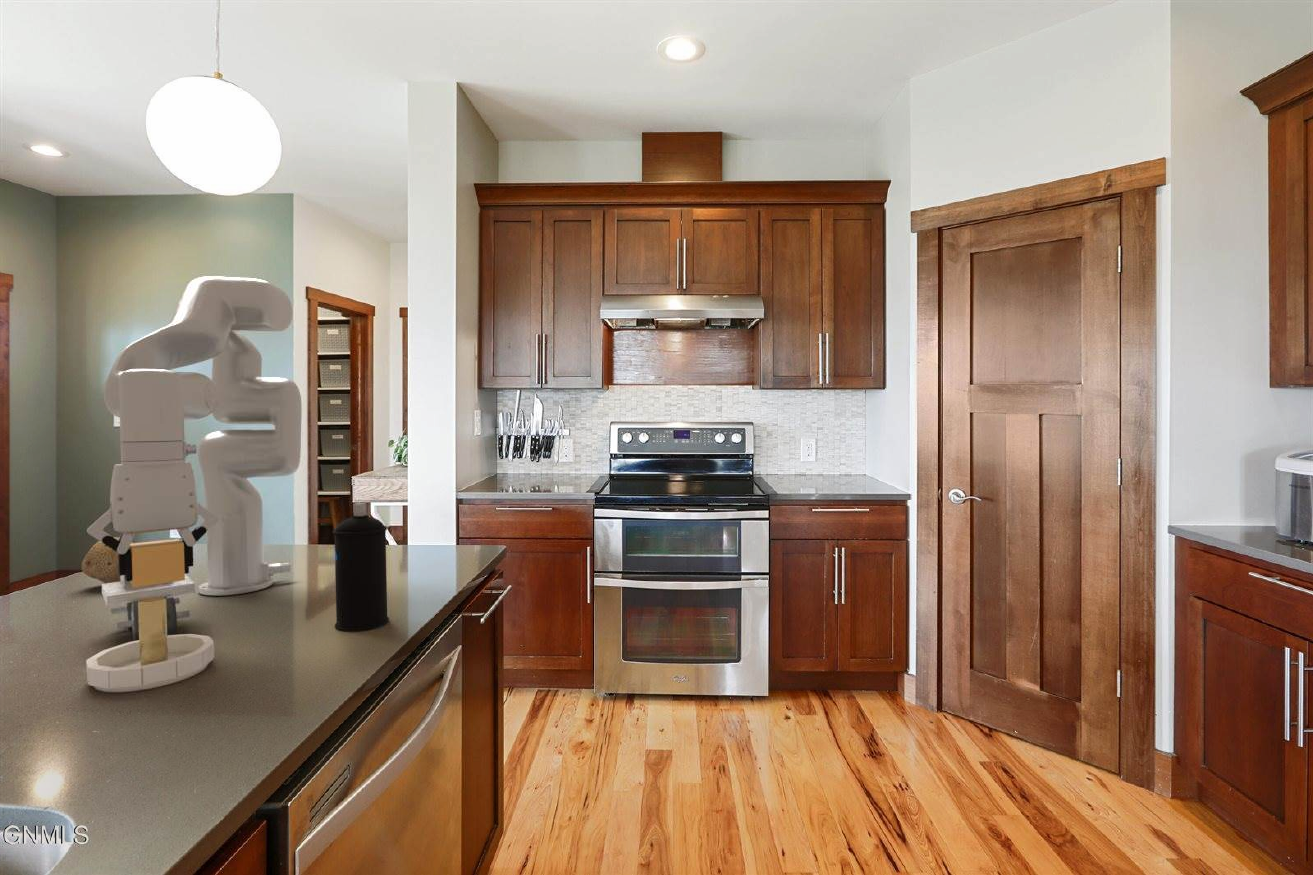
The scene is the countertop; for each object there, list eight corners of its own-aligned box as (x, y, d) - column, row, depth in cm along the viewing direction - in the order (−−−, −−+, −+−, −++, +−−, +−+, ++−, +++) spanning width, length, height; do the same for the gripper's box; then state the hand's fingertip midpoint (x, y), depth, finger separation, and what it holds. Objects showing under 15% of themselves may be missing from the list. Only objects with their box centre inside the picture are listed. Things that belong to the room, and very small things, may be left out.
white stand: (183, 613, 117) (182, 553, 116) (200, 635, 105) (198, 569, 105) (102, 627, 109) (100, 563, 109) (110, 652, 97) (108, 581, 97)
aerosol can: (399, 618, 113) (397, 501, 112) (363, 634, 105) (361, 508, 104) (361, 614, 115) (358, 499, 115) (323, 629, 108) (320, 505, 107)
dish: (203, 648, 99) (202, 628, 99) (222, 673, 89) (221, 651, 89) (84, 672, 90) (83, 650, 90) (91, 703, 80) (90, 679, 80)
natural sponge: (77, 594, 129) (75, 543, 129) (89, 584, 137) (87, 535, 137) (136, 587, 134) (134, 538, 134) (144, 578, 142) (142, 531, 141)
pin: (166, 660, 92) (164, 596, 92) (169, 666, 90) (167, 600, 89) (139, 666, 90) (136, 600, 89) (141, 672, 88) (139, 605, 87)
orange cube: (179, 574, 102) (178, 538, 102) (184, 580, 98) (183, 543, 98) (129, 581, 98) (128, 544, 98) (133, 587, 94) (132, 548, 94)
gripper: (217, 450, 106) (220, 563, 107) (74, 455, 95) (78, 581, 95) (227, 452, 101) (230, 570, 101) (77, 457, 89) (81, 591, 90)
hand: (157, 574), depth 98 cm, fingers closed on orange cube, 6 cm apart
